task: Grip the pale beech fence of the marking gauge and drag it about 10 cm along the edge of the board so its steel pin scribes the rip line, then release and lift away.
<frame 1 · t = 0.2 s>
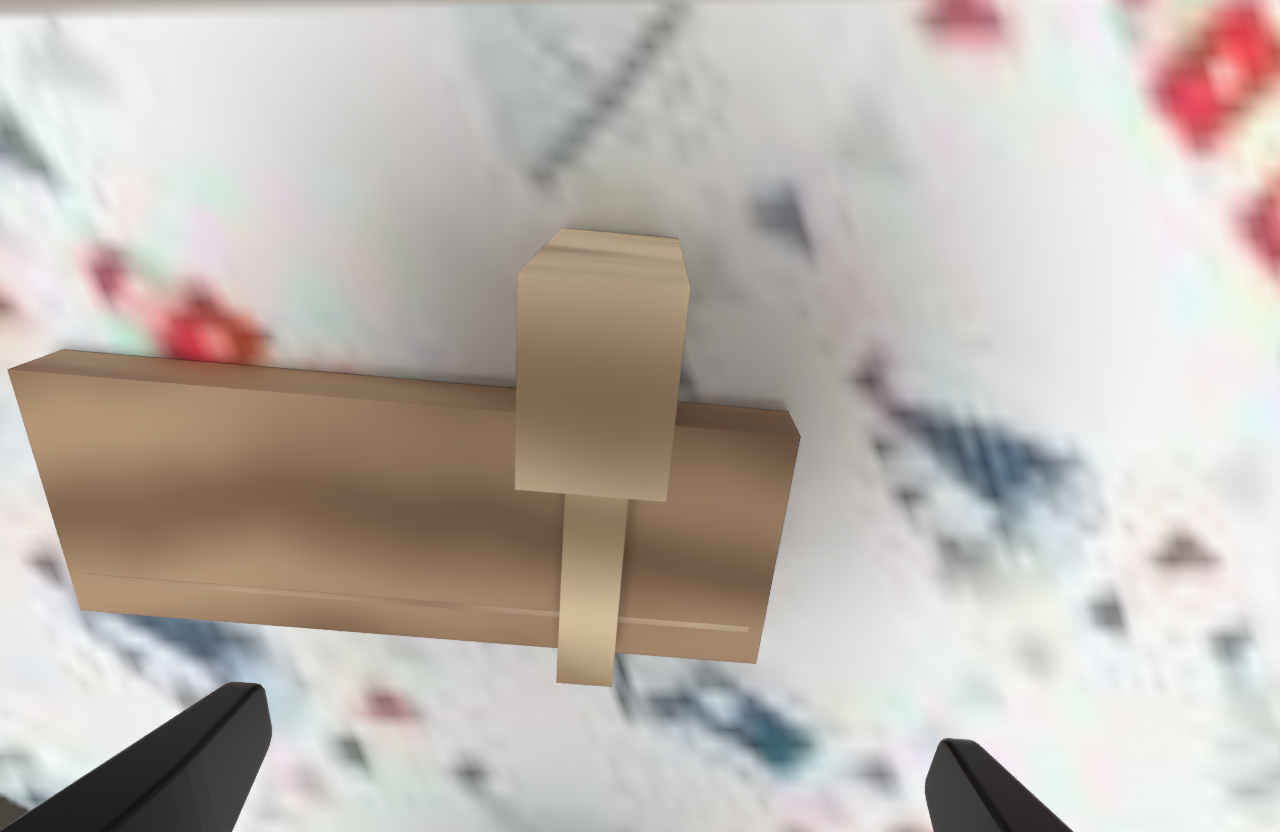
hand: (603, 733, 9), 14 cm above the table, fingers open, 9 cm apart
board: (433, 499, 24), on the table
gauge: (597, 492, 19), point 4 cm above the table, slide at -6.0 cm
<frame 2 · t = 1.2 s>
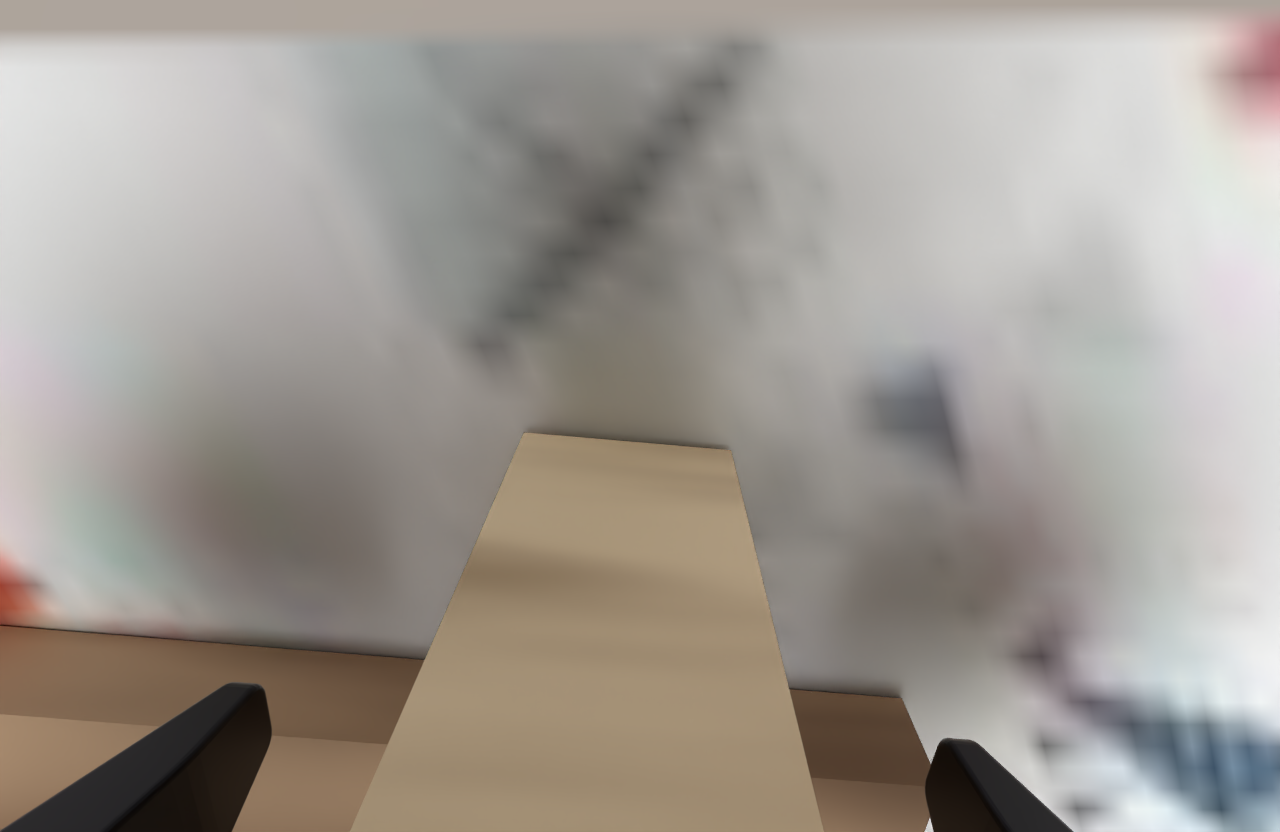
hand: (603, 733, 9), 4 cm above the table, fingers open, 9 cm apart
board: (330, 804, 15), on the table
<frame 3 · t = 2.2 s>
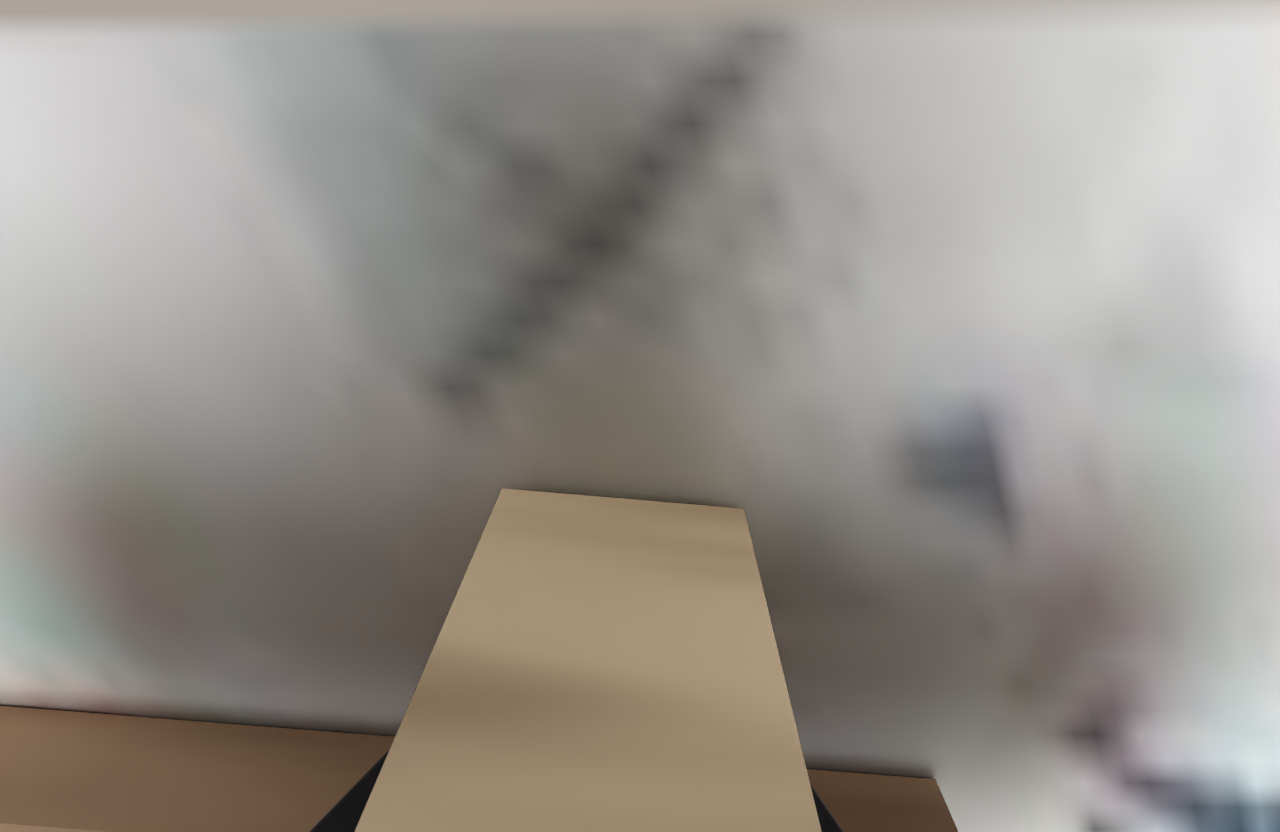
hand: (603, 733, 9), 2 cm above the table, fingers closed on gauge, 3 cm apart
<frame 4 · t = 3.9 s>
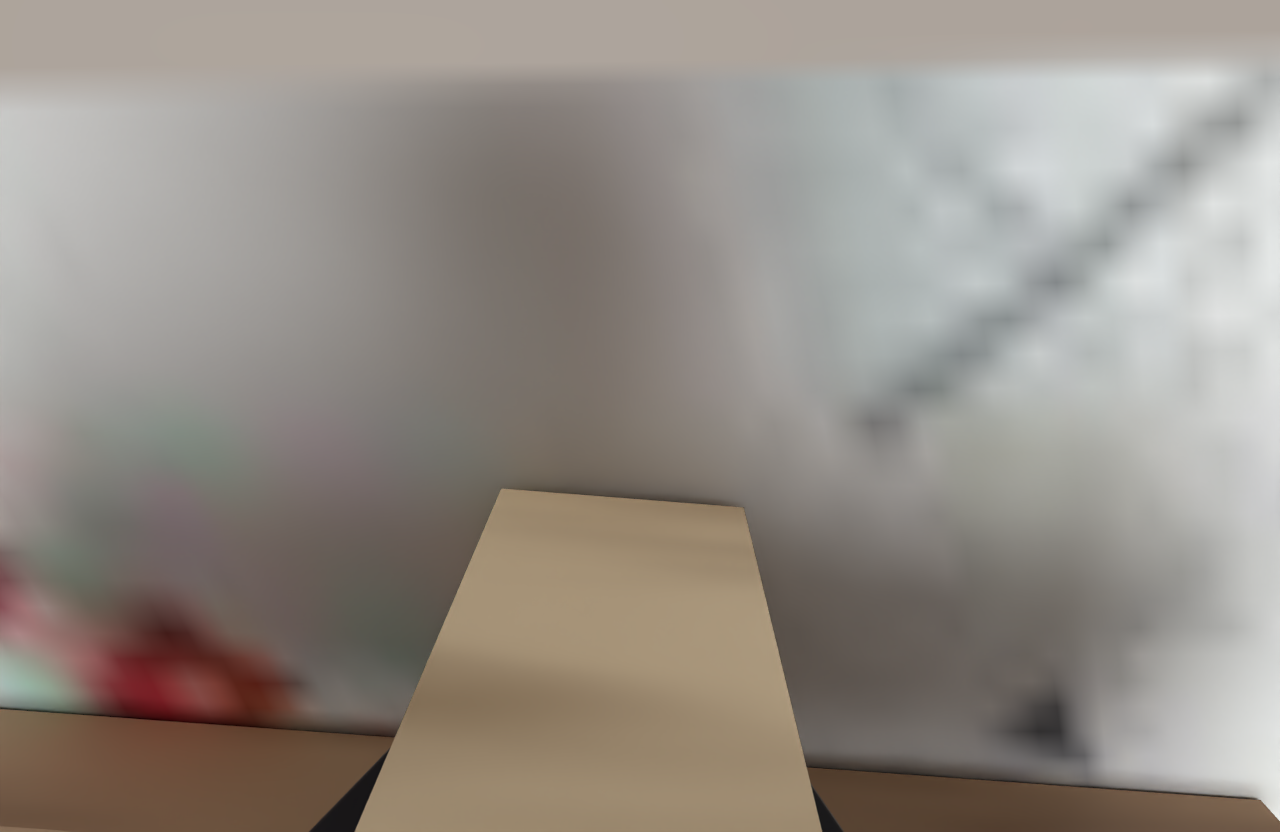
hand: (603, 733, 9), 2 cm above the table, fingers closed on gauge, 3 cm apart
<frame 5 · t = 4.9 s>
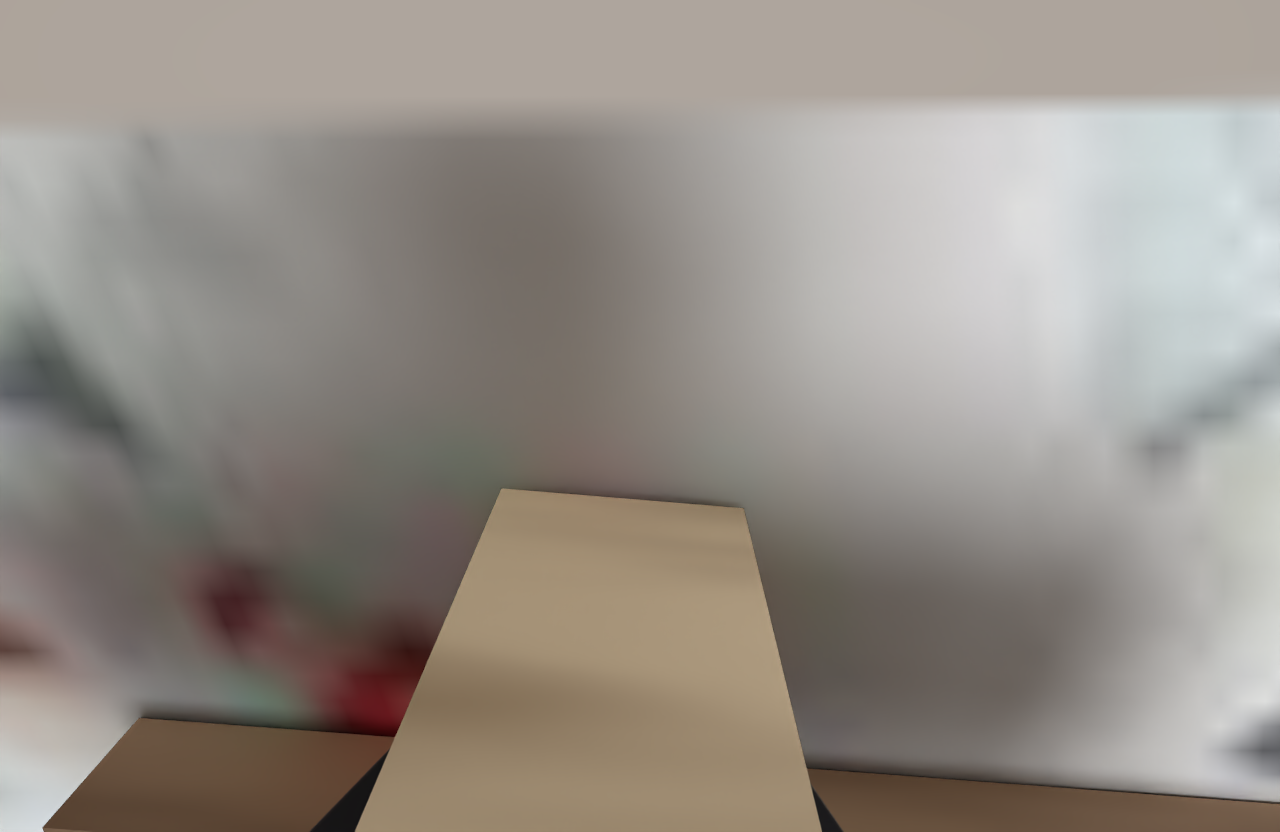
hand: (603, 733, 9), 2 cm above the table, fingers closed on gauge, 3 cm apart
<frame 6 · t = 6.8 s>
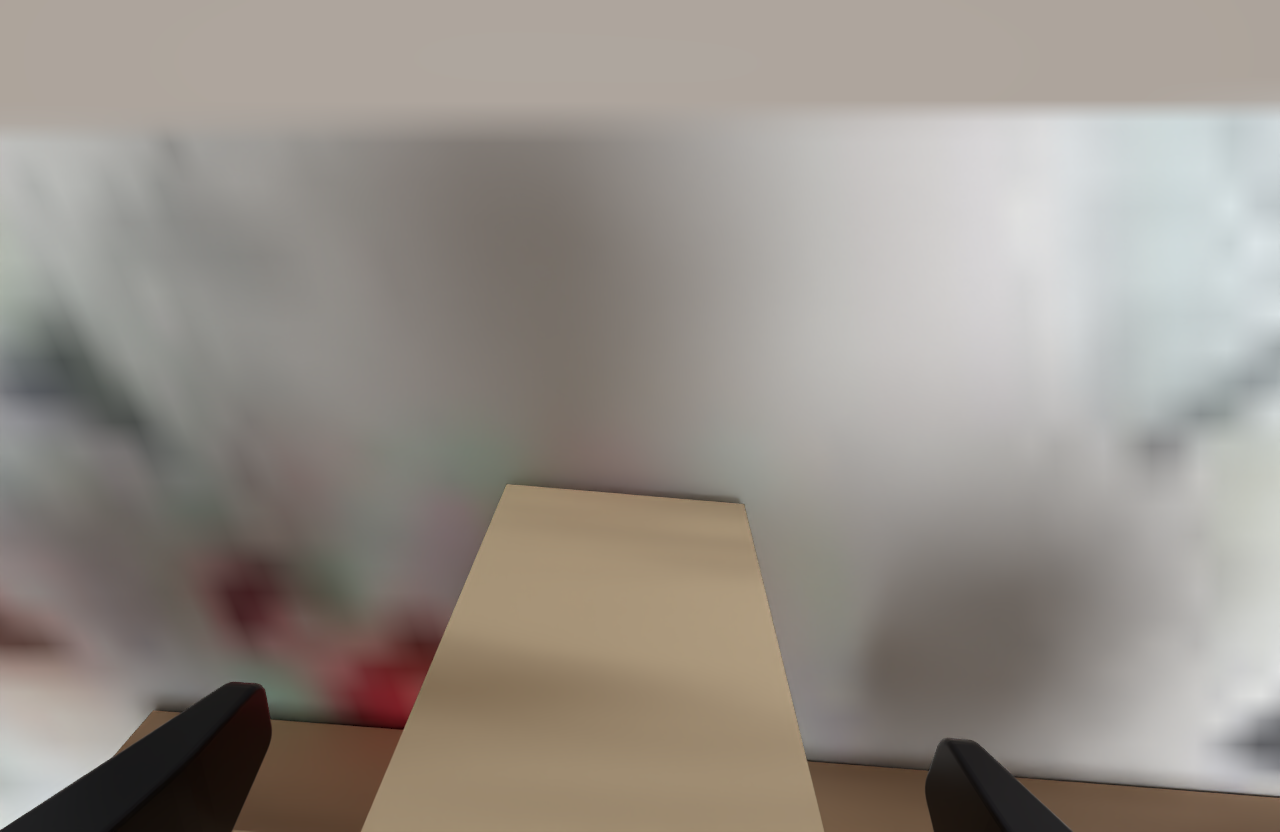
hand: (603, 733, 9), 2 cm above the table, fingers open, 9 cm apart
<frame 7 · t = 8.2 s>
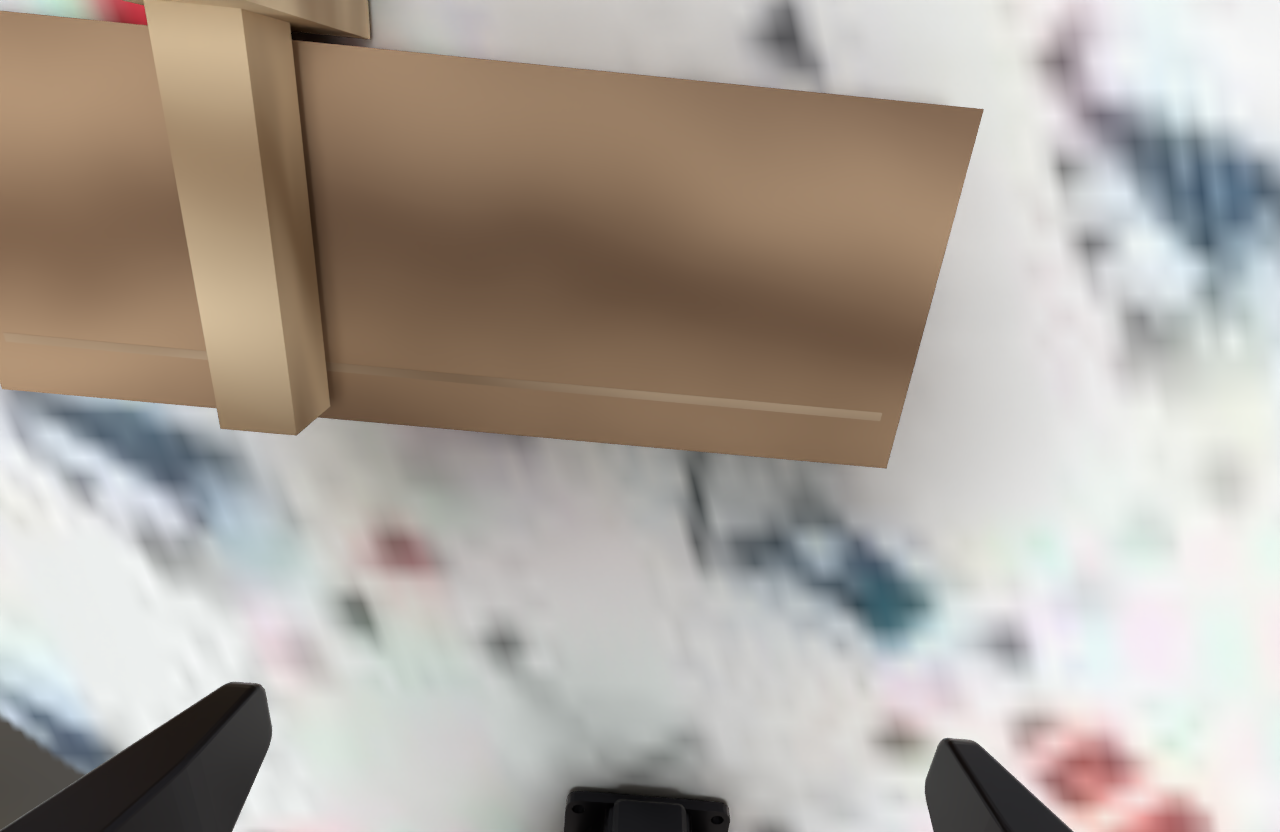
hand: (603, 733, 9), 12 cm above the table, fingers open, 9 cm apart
board: (466, 249, 18), on the table
gauge: (223, 116, 13), point 4 cm above the table, slide at 3.9 cm
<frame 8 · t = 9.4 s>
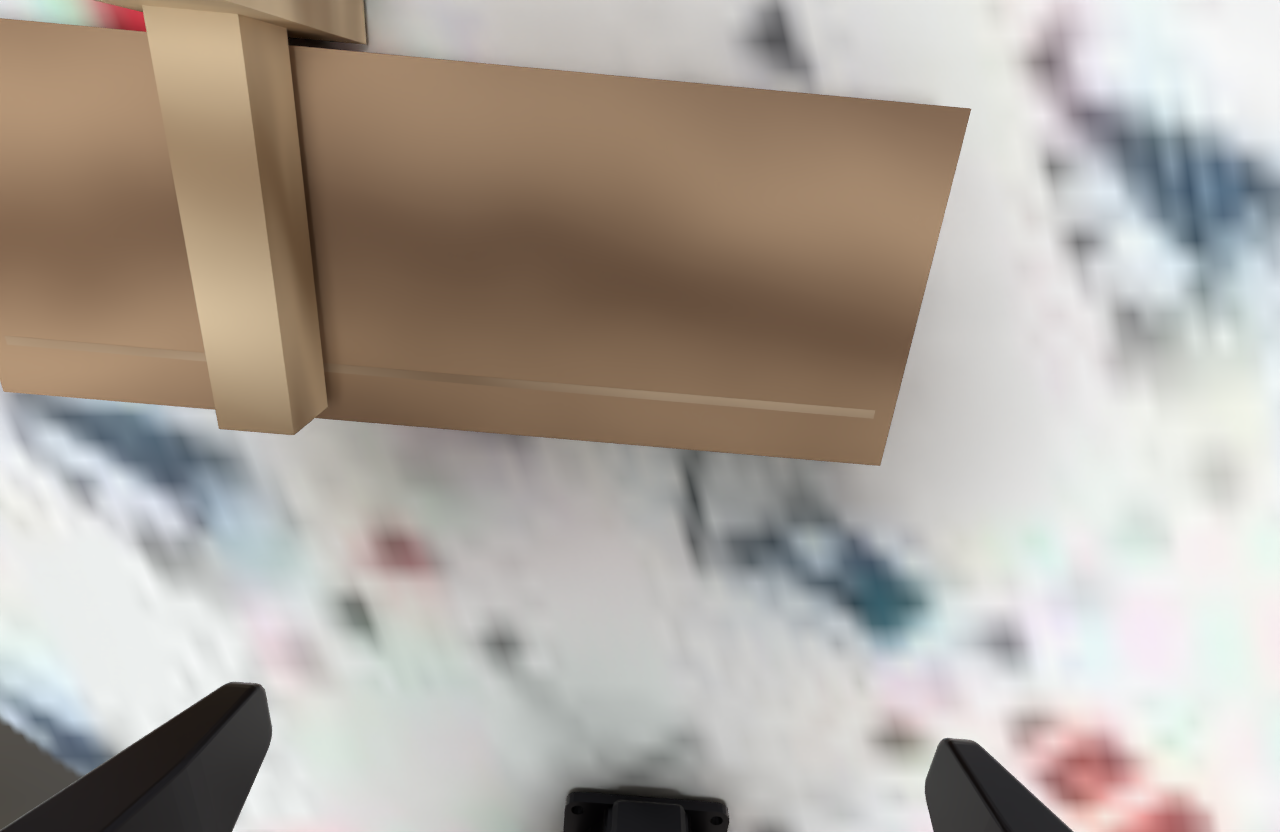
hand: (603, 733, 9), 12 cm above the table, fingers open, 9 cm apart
board: (462, 250, 18), on the table
gauge: (220, 119, 14), point 4 cm above the table, slide at 3.9 cm
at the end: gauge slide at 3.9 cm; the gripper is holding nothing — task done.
